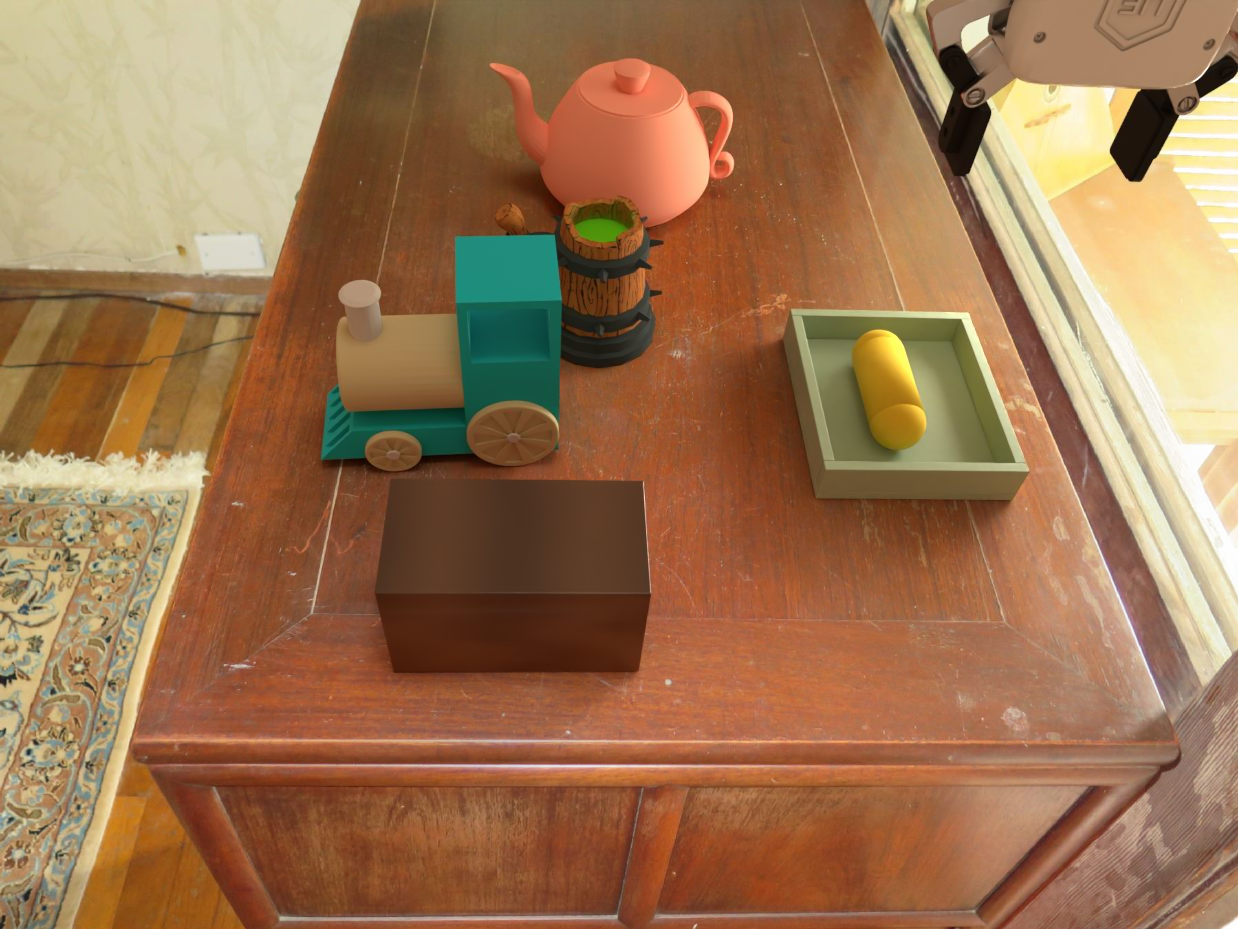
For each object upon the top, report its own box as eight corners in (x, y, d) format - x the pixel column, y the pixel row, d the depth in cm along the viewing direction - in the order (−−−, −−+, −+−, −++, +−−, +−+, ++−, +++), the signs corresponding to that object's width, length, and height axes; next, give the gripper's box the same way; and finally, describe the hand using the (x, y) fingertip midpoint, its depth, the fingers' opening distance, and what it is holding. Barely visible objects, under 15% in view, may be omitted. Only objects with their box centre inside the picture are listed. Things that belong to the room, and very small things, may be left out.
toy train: (330, 394, 74) (292, 231, 63) (551, 387, 76) (553, 227, 65) (322, 476, 69) (278, 316, 58) (558, 466, 71) (562, 308, 60)
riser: (633, 564, 66) (643, 480, 59) (638, 672, 61) (651, 594, 54) (406, 563, 65) (390, 477, 58) (393, 672, 60) (374, 593, 53)
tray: (1012, 500, 72) (1030, 471, 69) (815, 498, 71) (825, 469, 68) (955, 342, 82) (968, 312, 80) (782, 338, 81) (790, 308, 79)
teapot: (490, 237, 87) (483, 109, 78) (499, 138, 97) (494, 13, 88) (736, 246, 89) (760, 120, 79) (721, 147, 99) (740, 25, 89)
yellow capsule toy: (936, 451, 72) (926, 418, 69) (882, 467, 73) (869, 435, 70) (903, 346, 79) (893, 312, 76) (854, 362, 80) (842, 329, 77)
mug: (653, 286, 84) (667, 169, 76) (662, 371, 78) (678, 254, 69) (500, 283, 84) (496, 164, 75) (496, 369, 77) (491, 250, 68)
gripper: (1021, -174, 38) (900, 201, 51) (1440, -151, 40) (1218, 210, 53) (970, -233, 43) (871, 123, 56) (1345, -211, 44) (1163, 133, 57)
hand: (1039, 165), depth 54 cm, fingers open, 9 cm apart
